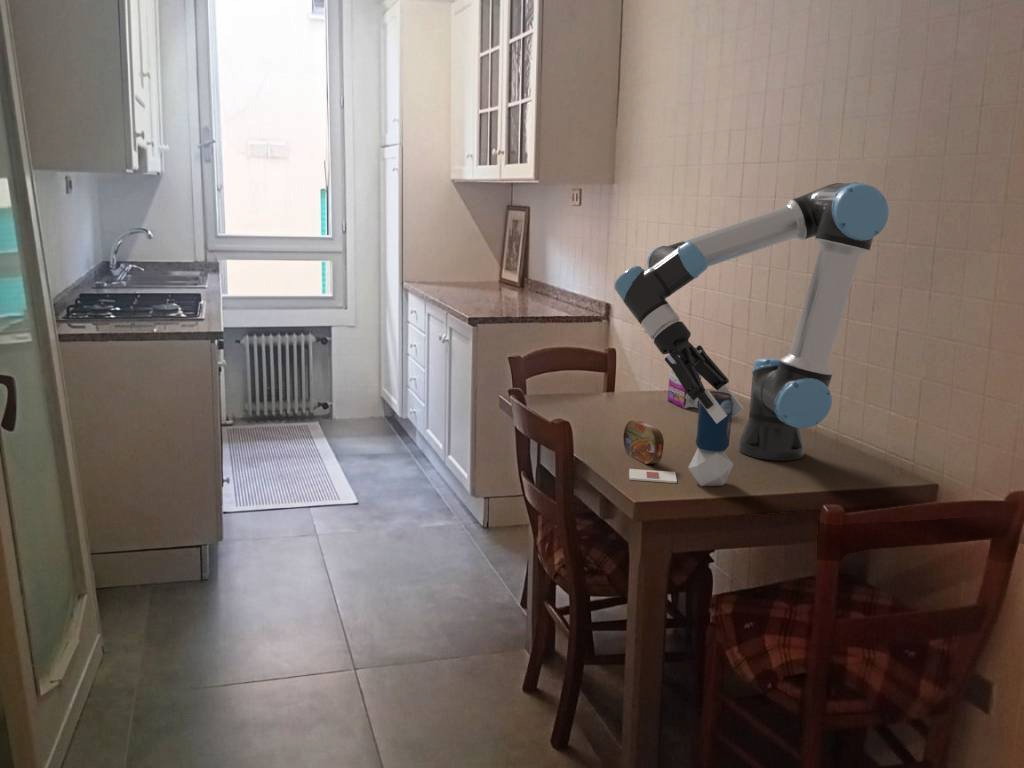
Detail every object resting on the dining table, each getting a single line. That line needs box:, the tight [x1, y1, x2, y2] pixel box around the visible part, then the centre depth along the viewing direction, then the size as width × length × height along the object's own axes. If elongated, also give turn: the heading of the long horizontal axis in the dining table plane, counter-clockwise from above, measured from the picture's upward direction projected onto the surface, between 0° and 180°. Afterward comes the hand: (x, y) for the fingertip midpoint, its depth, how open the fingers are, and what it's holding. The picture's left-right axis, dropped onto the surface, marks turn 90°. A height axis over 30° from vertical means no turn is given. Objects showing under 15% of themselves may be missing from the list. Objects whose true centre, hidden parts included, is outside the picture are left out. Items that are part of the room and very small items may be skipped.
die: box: [687, 447, 734, 487], centre depth 204 cm, size 8×9×10 cm
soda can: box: [695, 390, 733, 453], centre depth 202 cm, size 7×7×12 cm
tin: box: [622, 420, 665, 465], centre depth 221 cm, size 15×3×8 cm, turn 21°
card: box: [628, 468, 678, 484], centre depth 208 cm, size 10×7×1 cm
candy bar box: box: [667, 363, 702, 410], centre depth 278 cm, size 11×5×16 cm, turn 17°
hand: (730, 416), depth 200 cm, fingers open, 8 cm apart
